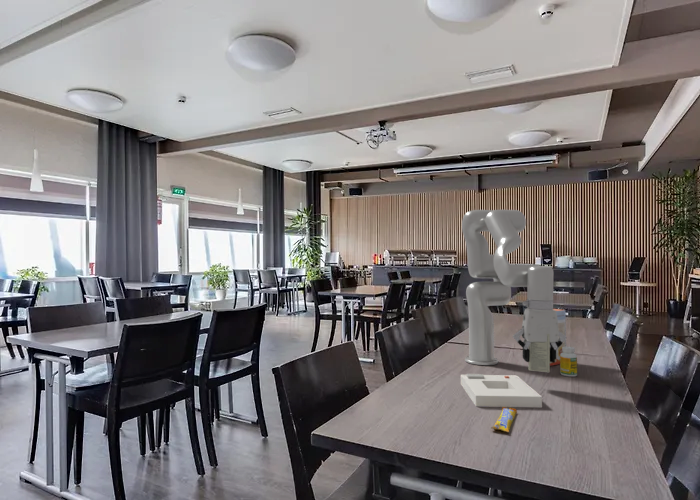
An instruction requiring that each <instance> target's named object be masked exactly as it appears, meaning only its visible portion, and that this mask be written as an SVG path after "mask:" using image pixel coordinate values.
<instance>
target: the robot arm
mask: <svg viewBox="0 0 700 500" xmlns="http://www.w3.org/2000/svg"><path fill="white" fill-rule="evenodd" d="M526 226H527V219H526V216H525V214H524V213H523V212H522V211H521V210H518V209H494V210H493V209H473V210H469V211H467V212H466V213H465V214H464V215H463V217H462V221H461V231H462V235H463V238H464V242H465V246H466V257H467V269H468V273H469V276H470V277H471V278H474V279H493V281H475V282H472V283H471V282H470V283H469V285H467V287H466V289H465V290H466V291H465V296H466V297H465V298H466V301H467V308H468V309H467V310H468V356H465V357H464V361H465V362H466V363H468V364H471V365H477V366H493V365H497V364H499V359H498V358H496V357H495V321H494V320H495V319H494V315H493V313H492V311H491V310H490V308H489V307H490V306H505V305H507V304H509V303H510V301H511V299H512V288H520V287H521V288H523V287H525V288H527V290H526V291H527V293H526V294H527V295H526V296H527V297H526V300H525V301H524V300H523V301H522V306H524V307H525V308H524V312H523V316H522V317H523V318H522V325H521V328H520V329H519V330H518V331H516V332H515V333H514V334H513V335H512V338H513V339H514V340H515V341H516V342H517V344H519V346H521V348H522V359H523V360H524V361H525V362H526V363H529V356H530V350H529V345H530V344H531V342H547V334H550V361H551V362H552V363H555V359H556V350H557V349H558V347H559V346H561V345H562V343H563V342H564V341H565V340H566V341H567V335H566V336H565V335H563V334H562V333H561V332H560V331H559V330H558V320H557V314H556V310H553V309H554V269H553V268H552V267H551V266H547V265H539V264H535V263H533V264H532V263H510V262H509V260H508V258H507V255H508V254H511V253H513V252H515V251H516V250H517V249H519V248H520V246H521V245H522V238H521V236H520V234H519V233H521V232H524V230H525V229H526ZM481 232H489V233H490V236H491V237H492V240H493V241H494V244H495V245H496V247H497V248H496V249H495V252H494V253H493V254H491V253H490V250H489V243H488V240H487V238H486V237H485V236H484V235H483V234H482V233H481ZM520 337H522V339H523V341H522V340H521V338H520Z"/></svg>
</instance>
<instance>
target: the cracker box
mask: <svg viewBox="0 0 700 500" xmlns="http://www.w3.org/2000/svg"><path fill="white" fill-rule="evenodd" d="M553 310H556V314H557V320H558V330H559V331H560V332H561V333H562V334H563V335H565V336H566V337H567V332H566V331H567V325H566V324H567V319H566V316H567V315H566V314H567V313H566V309H560V308H559V309H558V308H553ZM562 347H567V339H566V340H565V341H564V342H563V343H562V345H561V346H559V347H558V349H557V350H556V359H555V363H552V362H551V361H550V367H552V366H556V365H560V354H561V353H563V351H562Z"/></svg>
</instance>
